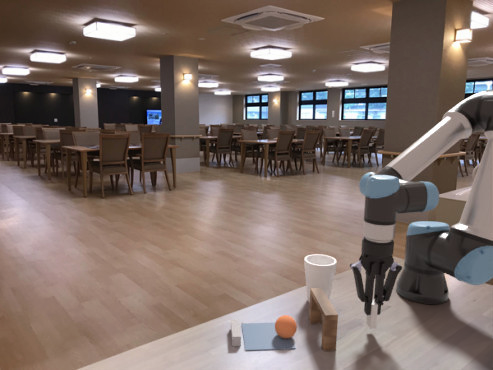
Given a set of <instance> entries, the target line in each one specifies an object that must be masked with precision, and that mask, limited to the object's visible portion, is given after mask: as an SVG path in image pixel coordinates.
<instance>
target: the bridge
mask: <svg viewBox="0 0 493 370" xmlns="http://www.w3.org/2000/svg"><path fill="white" fill-rule="evenodd" d="M338 320H339V314H338V312H337V311H336V309H335V308H334V305H333V304H332V303H331V301H330V299H328V298H327V296H326V295H325V293H324V291H323V290H322V288H310V303H309V310H308V321H309V323H310V324H322V326H321V327H322V329H321V343H320V344H321V345H320V347H321V348H322V351H323V352H328V351H329V352H330V351H337V339H338V323H339V321H338Z"/></svg>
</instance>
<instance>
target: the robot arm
mask: <svg viewBox="0 0 493 370" xmlns="http://www.w3.org/2000/svg"><path fill="white" fill-rule="evenodd" d="M478 132H484V133H483V135H484V136H485V138H486V139H487V143H486V145H485V148H484V150H483V154H482V156H481V159H480V162H479V165H478V168H477V170H476V173H475V176H474V180H473V182H472V185H471V188H470V190H469V193H468V196H467V198H466V202H465V205H464V207H463V210H462V213H461V216H460V220H459V221H458V223H455V224H453V225H451V226H450V225H449V223H446V222H441V221H433V220H432V221H430V220H429V221H427V220H425V221H423V220H422V221H413V222H411V223H410V224H409V225H408V227H407V231H406V235H405V236H406V237H405V246H404V247H405V249H404V250H405V251H404V260H403V261H404V263H403V266H402V265H400V263H398V262H395V260H394V259H395V258H394V256H393V254H394V247H395V241H394V239H395V238H396V237H395V235H396V225H397V215H398V214H408V213H423V212H428V211H432V210H434V209H435V208H436V207H437V205H438V204H439V201H440V192H439V190H438V186H436V185H435V184H434V182H431V181H423V180H420V181H412V180H413V179H414V178H415V177H416V176H418V175H419V174H421V173H422V171H424V170H425V169H426V168H428V167H429V166H430V165H431V164H432V163H434V161H436V160H437V159H438V158H439V157H441V156H442V155H443V154H444V153H446V152H447V151H448V150H450V148H452V147H453V146H455V145H456V143H458V142H459V141H460V140H463V139H467V138H470V136H472V135H473V134H475V133H478ZM358 183H359V185H358V188H359V191H360V193H361V195H362V196H363V197H364V212H363V224H362V225H363V227H362V235H363V237H362V239H361V251H360V253H361V255H360V256H359V258H358V261H356V262H355V263H354V262H352V263H350V264H349V267H350V269H351V271H352V272H353V277H354V283H355V289H356V294H357V297H358V299H359V300H360V302H362V303H364V309H363V311H364V314H365V315H366V322H365V323H366V324H367V326H368V328H369V329H377V322H378V321H377V320H378V315H379V316H380V315H381V310H382V306H383V305H384V302H389V301H390V299H391V296H392V293H393V290H394V286H395V291H396V292H397V294H398V295H400V297H402V298H404V299H406V300H410V301H412V302H416V303H419V304H425V305H441V304H444V303H446V302H447V301H449V293H450V292H449V288H448V283H447V279H446V276H445V275H448V276H450V277H452V278H454V279H456V280H457V281H459V282H462V283H463V282H464V283H466V284H468V285H469V286H470V285H471V286H481V285H484V284H486V283H487V282H489V281H491V280H492V279H493V89H487V90H482V91H479V92H477V93H474V94H472V95H470V96H467V97H466V98H465V99H463V100H461V101H460V102H458V103H457V104H456V105H454V106H453V107H451V108H450V109H448V111H446V112H445V113H444V114H443V116H442V119H441V121H439V122H438V123H437V124H436V125H434V126H433V127H432V128H431V129H429V130H428V131H427V132H426V133H424V134H423V135H422V136H421V137H420V138H418V139H417V140H416V141H415V142H413V143H412V144H411V145H409V147H408V148H406V149H404V151H402V152H401V153H400V154H399V155H398V156H396V157H395V158H393V160H391V161H390V162H389V163H387V165H385V166H384V167H383V168H382V169H380V170H379V171H378V172H375V171H373V172H371V171H369V172H367V173H365V174H363V176H362V177H360V180H359V182H358ZM362 268H363V269H364V271H365V281H364V282H365V284H364V282H363V276H362V273H361V271H362ZM387 271H388V273H387ZM386 273H387V276H386ZM399 274H400V275H399ZM395 283H396V285H395Z"/></svg>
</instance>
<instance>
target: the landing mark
mask: <svg viewBox="0 0 493 370" xmlns="http://www.w3.org/2000/svg"><path fill="white" fill-rule="evenodd" d="M275 323H276V321H275V322H253V323H252V322H250V323H246V322H245V323H241V328H242V336H243V341H244V348H245V349H244V350H245V352H248V351H251V352H252V351H271V350H272V351H274V350H296V345H295V342H294V340H293V336H292V337H291V338H287V339H286V338H282V337H280V336H279V335H278V334H277V333H276V331H275Z"/></svg>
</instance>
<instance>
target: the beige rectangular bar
mask: <svg viewBox="0 0 493 370" xmlns="http://www.w3.org/2000/svg"><path fill="white" fill-rule="evenodd" d="M230 335H231V344H232V347H241V346H242V344H241V343H242V336H241V327H240V321H239V319H230Z"/></svg>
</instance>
